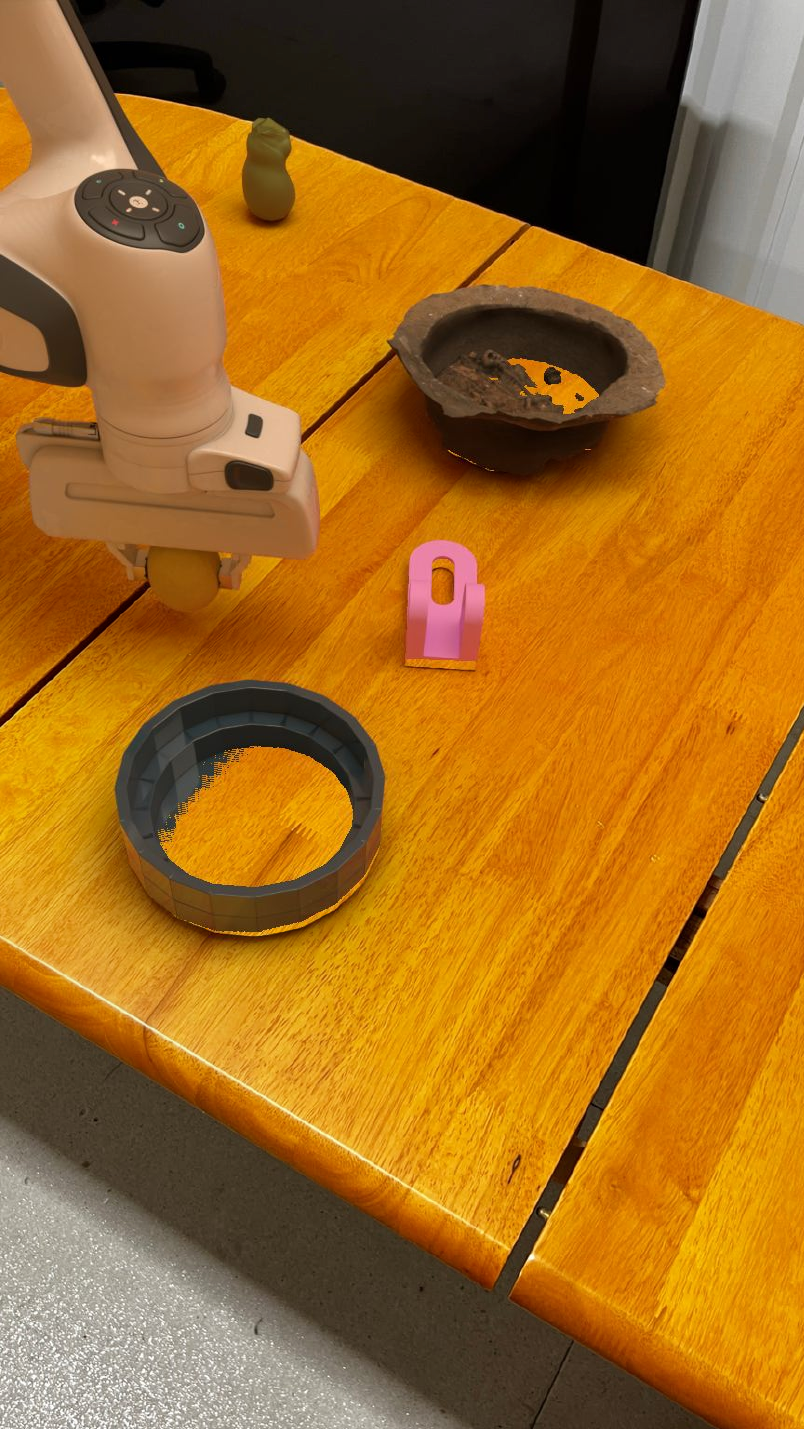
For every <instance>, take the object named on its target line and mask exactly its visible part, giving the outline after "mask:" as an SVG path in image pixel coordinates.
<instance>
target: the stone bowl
mask: <svg viewBox="0 0 804 1429" xmlns="http://www.w3.org/2000/svg"><path fill="white" fill-rule="evenodd" d="M392 335H393V338H392V339H386V340H385V342H386V343H387V344H388V345H389V347H390V349H391V350H392V351H393V353H395V355H396V356H397V358H398V360H399V362H400V363H401V364H402V367H403V368H404V370H405V371H406V373H407V374H408V376H409V377H410V378H411V379H412V381H413V383H414V384H415V385H416V387H417V388H418V389H419V391H420V392H421V393H423V398H424V403H425V410H426V414H427V416H428V418H429V420H430V422H432V424H433V425H434V428H436V430H438V433H440V436H441V439H442V446H443V448H444V447H445V448H446V449H447V450H450V451H451V452H453V453H455V454H457V455H459V456H461V457H463V458H466V459H468V460H469V461H472V462H473V463H476V464H477V465H476V466H478V465H479V466H480V467H479V466H478V467H479V468H481V467H483V468H487V469H489V470H494V471H496V472H502V471H503V472H505V473H509V474H513V475H521V476H525V475H530V474H536V473H539V472H541V471H542V469H543V468H544V466H545V464H546V463H547V462H548V461H549V460H556V461H567V460H569V459H570V458H572V457H573V456H577V455H579V454H581V453H582V452H584V451H586V450H585V449H593V450H595V449H596V448H597V447H598V446H600V444H601V442H602V441H603V438H604V436H605V434H606V433H607V430H608V428H609V426H610V424H611V421H612V420H615V419H622V418H624V417H627V416H630V415H633V414H637V413H640V412H641V411H644V410H647V409H649V408H651V407H653V406H655V405H657V404H658V403H659V402H658V401H657V400H656V399H657V398H658V397H660V394H658V393H659V392H660V391H661V390H663V389H665V388H666V378H665V375H664V371H663V370H664V369H663V368H662V366H663V365H662V364H661V363H660V361H659V357H658V349H657V348H656V347H655V346H654V345H653V343H652V342H651V341H650V340H649V339H647V337H646V335H645V334H644V333H643V331H641V330H640V329H638V328H637V326H636V324H634V323H633V322H632V321H631V320H628V319H626V318H623V317H621V316H619V315H615V314H614V313H613V312H612V311H610V310H608V309H606V308H604V307H602V306H599V305H597V304H594V303H590V302H588V301H585V300H584V299H581V298H577V297H571V296H570V295H567V294H563V293H560V292H556V291H552V290H549V289H545V288H540V287H537V286H530V285H529V286H518V287H515V286H513V287H509V286H508V285H507V284H500V285H495V284H485V283H482V284H479V285H472V286H467V287H461V288H457V289H454V290H453V291H448V292H442V293H441V292H440V293H432V294H430V295H428V296H427V297H425V298H423V299H421V300H419V302H416V303H415V304H414V305H412V306H410V308H408V309H407V311H406V312H405V314H404V316H403V320H402V321H401V322H400V323H399V324H398V326H397V327H396V330H395V332H393V333H392ZM512 358H515V359H520V358H522V359H527V360H534V361H539V362H546V363H547V364H549V365H553V366H556V367H559V368H562V369H563V370H567V371H569V372H570V373H572V374H577V375H578V376H580V377H581V378H583V379H584V380H585V381H586V382H587V383H588V384H589V385H590V386H591V387H592V388H594V389H595V391H596V392H597V393H598V394H599V397H597V398H596V399H593V400H591V401H590V402H588V403H587V404H586V405H585V406H584V407H583V408H578V409H575V410H574V412H575V413H571V414H563V411H564V408H563V407H564V406H563V405H555V404H553V403H552V397H551V396H549V395H541V394H538V392H537V393H535V394H536V395H533V394H531V393H530V392H529V391H528V390H527V389H526V388H525V387H524V386H525V385H527V387H534V388H537V387H536V386H537V385H536V384H535V382H533V381H532V380H531V378H530V377H529V376H528V374H527V373H526V372H525V370H526V369H525V368H524V367H523V366H521V365H520V364H516V365H511V364H510V363H509V362H508V361H507V360H509V359H512ZM560 374H561V372H560V371H558V370H556V369H555V368H554V367H549V368H547V369H546V371H545V373H544V381H545V382H546V384H548V385H551V384H559V383H561V376H560ZM489 377H490V378H498V380H491V379H490V378H489ZM535 385H536V386H535ZM521 391H524V392H523V393H525V395H527V396H522V394H521V395H520V392H521ZM575 397H576V399H578V401H583V400H584V397H582V396H581V395H579V394H578V393H576V395H575ZM599 443H600V444H599ZM595 447H596V448H595ZM445 448H444V449H445ZM446 449H445V450H446ZM463 458H462V459H463ZM483 468H482V469H483Z"/></svg>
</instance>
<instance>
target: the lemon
mask: <svg viewBox="0 0 804 1429" xmlns="http://www.w3.org/2000/svg"><path fill="white" fill-rule="evenodd" d="M148 551H149V552H148V559H147V574H148V578H149V581H148V583H149V585H150V588H151V590H152V592H153V593H154V595H155V596H156V598H157V599H158V600H159V601H160V602H161V603H162V604H163V605H164V606H166V607H168V608H169V609H171V610H173V611H176V612H181V613H192V612H197V611H200V610H202V609H204V608H206V607H208V606H209V605H210V604H211V603H212V602H213V601H214V600H215V598H216V597H217V595H218V594H219V592H220V590H221V588H219V583H220V581H219V578H218V573H219V568H220V567H221V565H220V563H221V559H222V558H221V556H220V552H211V551H200V550H190V549H179V548H168V547H158V546H149V549H148Z"/></svg>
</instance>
